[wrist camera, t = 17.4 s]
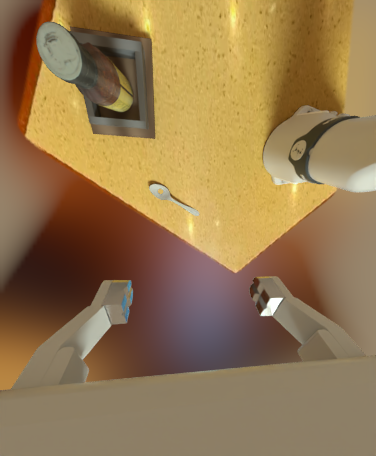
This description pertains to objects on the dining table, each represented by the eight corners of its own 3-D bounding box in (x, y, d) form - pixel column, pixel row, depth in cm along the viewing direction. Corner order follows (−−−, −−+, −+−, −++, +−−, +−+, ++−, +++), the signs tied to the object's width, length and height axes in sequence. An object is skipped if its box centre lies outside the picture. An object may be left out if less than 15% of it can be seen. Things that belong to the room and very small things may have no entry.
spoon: (153, 178, 42) (152, 179, 41) (209, 213, 49) (210, 215, 48) (146, 190, 44) (145, 192, 42) (201, 223, 51) (202, 225, 50)
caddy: (151, 42, 29) (148, 26, 25) (155, 138, 37) (153, 138, 33) (73, 30, 27) (56, 12, 23) (95, 133, 35) (85, 133, 31)
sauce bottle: (102, 69, 29) (5, -28, 12) (135, 79, 30) (88, 4, 13) (104, 110, 32) (29, 79, 15) (134, 118, 34) (95, 97, 17)
